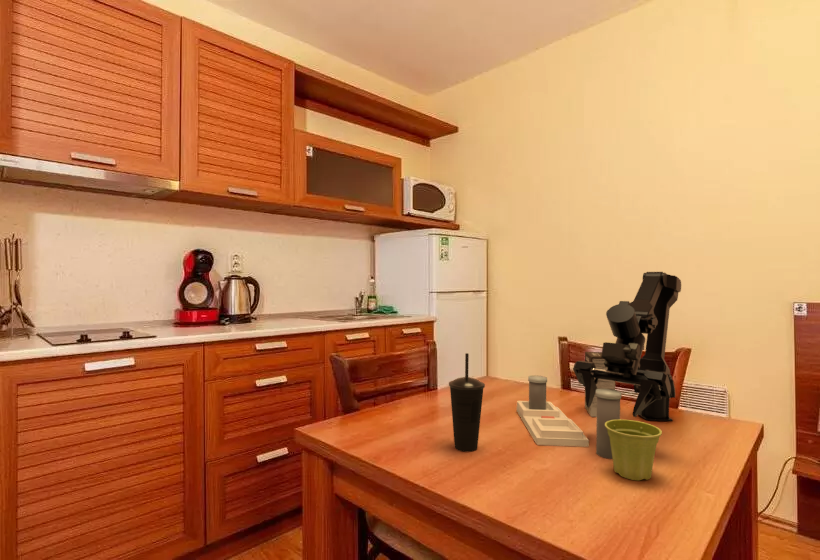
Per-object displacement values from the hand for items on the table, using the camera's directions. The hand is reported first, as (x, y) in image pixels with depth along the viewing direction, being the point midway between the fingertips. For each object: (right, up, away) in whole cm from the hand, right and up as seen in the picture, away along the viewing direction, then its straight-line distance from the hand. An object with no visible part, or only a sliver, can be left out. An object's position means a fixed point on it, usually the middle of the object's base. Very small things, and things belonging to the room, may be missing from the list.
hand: (610, 410), depth 90 cm
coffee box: (+10, -9, +28) cm, 32 cm away
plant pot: (-1, -9, -10) cm, 13 cm away
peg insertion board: (-8, -9, +16) cm, 20 cm away
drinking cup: (-30, -9, +2) cm, 31 cm away
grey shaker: (-1, -9, -1) cm, 9 cm away
